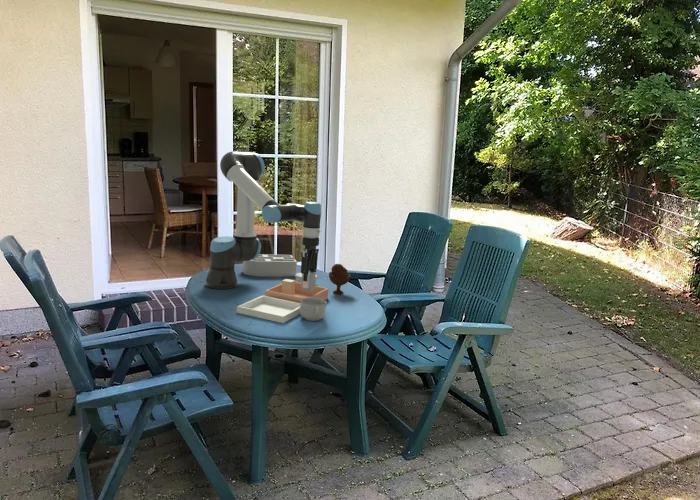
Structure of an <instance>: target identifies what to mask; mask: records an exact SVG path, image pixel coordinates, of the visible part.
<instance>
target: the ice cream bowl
mask: <svg viewBox="0 0 700 500" xmlns="http://www.w3.org/2000/svg"><path fill="white" fill-rule="evenodd" d="M330 270H331V272H329V273H328V277H329V280H330V282H331V284H333V285H335V286H336V289H335V290H333V291H332V294H333V295H338V296H342V295H344V291H343V290H341V286H344V285H346V284H347V283H349V281H350V279H351V277H352V276H351V274H349V273H348V269H347V268H346V267H345V266H344V265H342V264H341V263H336V264H334V265H332V267H331V269H330Z"/></svg>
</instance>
